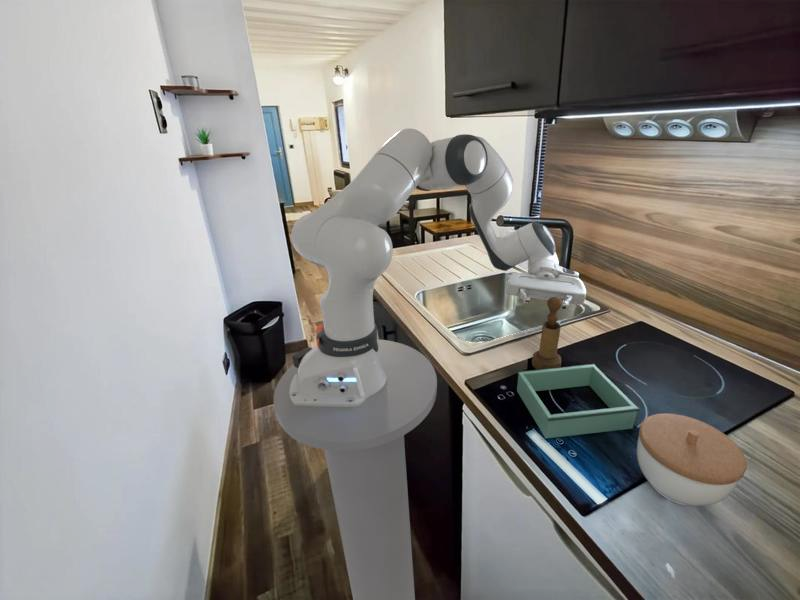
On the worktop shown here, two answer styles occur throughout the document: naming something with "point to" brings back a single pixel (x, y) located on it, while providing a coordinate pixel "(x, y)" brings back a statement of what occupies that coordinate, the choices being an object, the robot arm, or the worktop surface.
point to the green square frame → (584, 421)
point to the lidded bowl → (688, 459)
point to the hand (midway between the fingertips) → (545, 304)
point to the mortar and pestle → (549, 339)
